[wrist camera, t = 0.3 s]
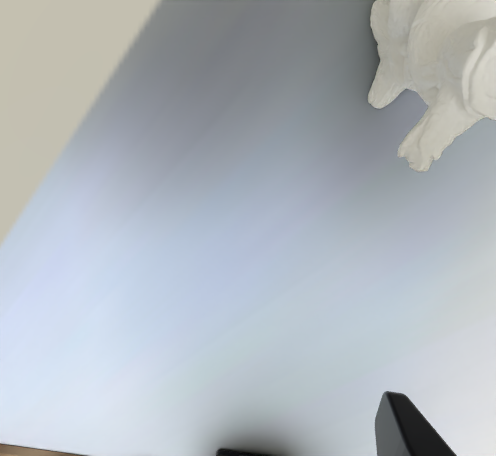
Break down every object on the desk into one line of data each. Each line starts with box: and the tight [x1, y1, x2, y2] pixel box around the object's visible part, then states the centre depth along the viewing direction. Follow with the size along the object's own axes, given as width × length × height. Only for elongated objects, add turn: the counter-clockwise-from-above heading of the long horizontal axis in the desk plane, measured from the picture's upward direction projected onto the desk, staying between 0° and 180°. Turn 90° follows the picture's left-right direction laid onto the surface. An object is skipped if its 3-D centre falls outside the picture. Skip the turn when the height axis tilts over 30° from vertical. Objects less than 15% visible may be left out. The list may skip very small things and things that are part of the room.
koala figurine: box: [368, 0, 496, 172], centre depth 12 cm, size 8×7×12 cm
